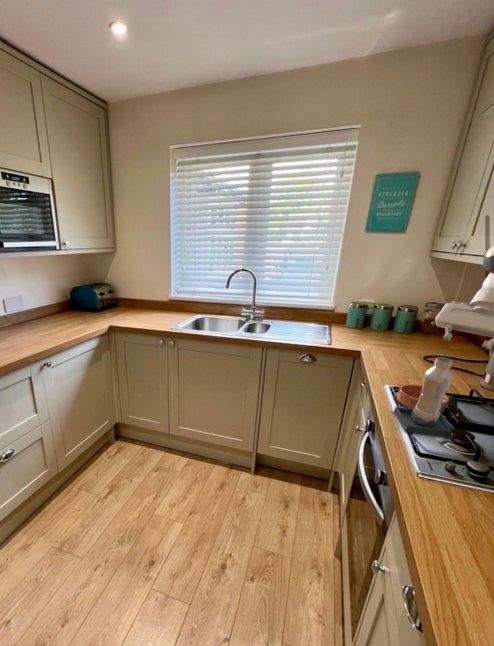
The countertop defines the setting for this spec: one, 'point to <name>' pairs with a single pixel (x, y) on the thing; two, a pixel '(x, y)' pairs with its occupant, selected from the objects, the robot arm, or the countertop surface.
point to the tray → (411, 426)
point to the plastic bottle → (433, 392)
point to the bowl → (414, 396)
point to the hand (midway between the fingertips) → (464, 343)
